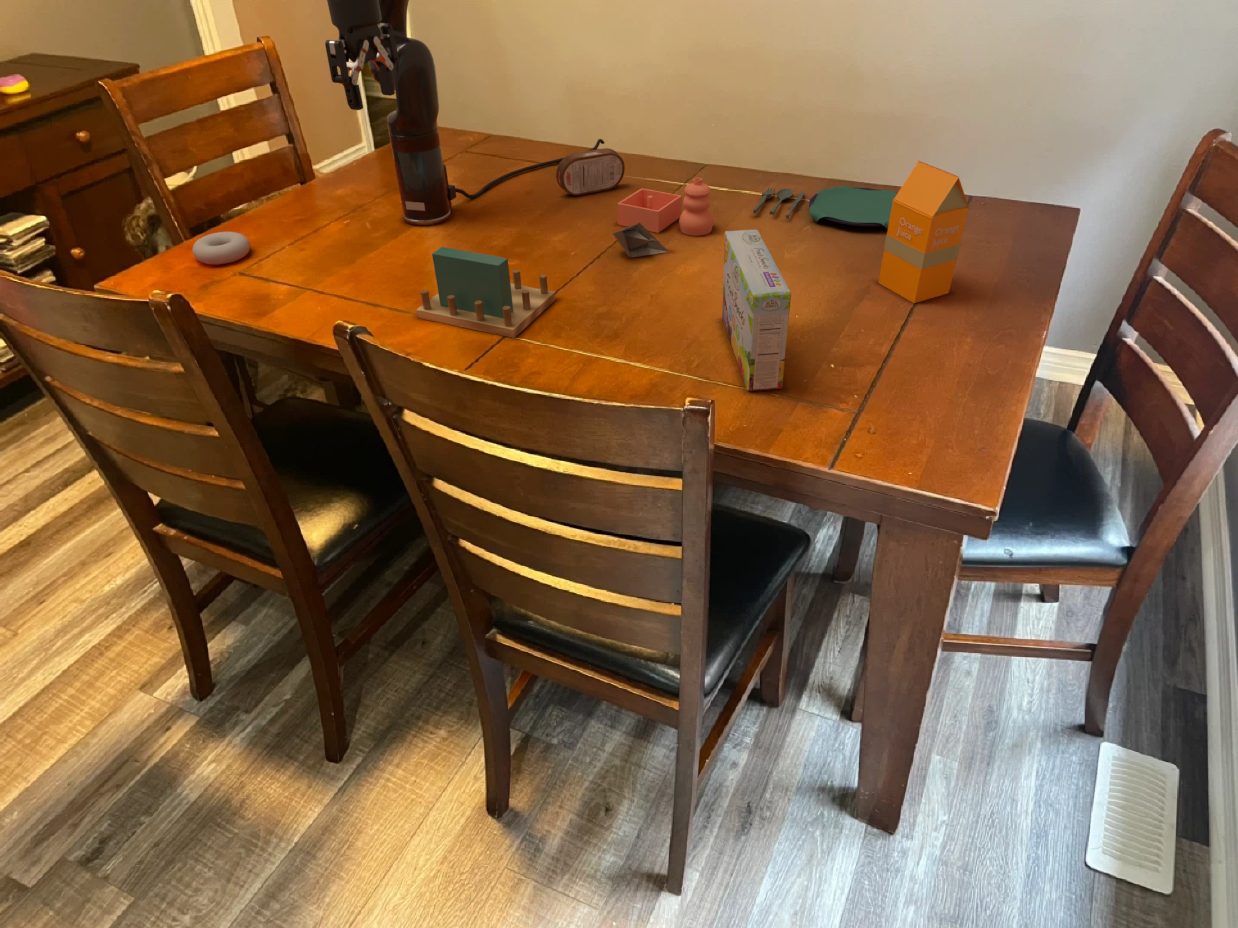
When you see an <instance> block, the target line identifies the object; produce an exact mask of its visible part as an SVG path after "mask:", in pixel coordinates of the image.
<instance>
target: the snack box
mask: <svg viewBox="0 0 1238 928" xmlns="http://www.w3.org/2000/svg"><path fill="white" fill-rule="evenodd" d="M760 233H761V232H760V231H759V230H758V229H756V228H755V229H741V230H740V229H739V230H725V232H724V244H723V245H724V246H723V247H724V248H723V275H722V276H723V278H722V279H723V280H722V282H723V284H722V314H721V318H722V319H721V321H722V323H723V326H724V329H725V332H726V335H727V338H728V340H729V343H730V345H731V348H732V351H733V354H734V357H735V360H736V363H737V365H738V366H737V367H738V368H739V372H740V374H741V377H742V379H743V383H744V385H745V388H746V391H747V392H755V391H756V392H757V391H769V390H778V389H779V390H781V389H783V384H784V383H783V382H784V374H785V373H784V371H785V362H786V361H785V360H786V352H787V340H788V329H789V321H790V320H789V319H790V311H791V302H792V301H791V300H792V291H791V290H790V288H789V286H788V284H787V282H786V281H785V279H784V276H783V275H782V273H781V271H780V270H779V268H778V266H777V264H776V262H775V260H774V258H773V256H772V254H771V253H770V250H769V249H768V247H767V244H766V243H765V241H764V239H763V237H762V235H761V234H760Z"/></svg>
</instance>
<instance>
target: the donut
mask: <svg viewBox="0 0 1238 928" xmlns="http://www.w3.org/2000/svg"><path fill="white" fill-rule="evenodd" d="M250 248H251V242H250V241H249V239H248V238H247V237H246V236H245V235H244V234H242V233H239V232H235V231H218V232H213V233H210V234H206V235H204V236H202V237H200V238H198V239H197V240H196V241H195V242H194V244H193V245H192V249H191V252H192V254H193V256H194V258H195V259H196V260H197V261H198V262H201V263H202V264H204V265H213V266H214V265H217V266H219V265H226V264H230V263H233V262H236V261H239V260H241V259H242V258H244V257H246V255H248V253H249V252H250V250H251V249H250Z"/></svg>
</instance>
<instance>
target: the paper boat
mask: <svg viewBox="0 0 1238 928" xmlns="http://www.w3.org/2000/svg"><path fill="white" fill-rule="evenodd" d="M612 235H613V236H614V238H615V240H616V241H617V242H618V243H619V245H620V246H621V248H622V249H623V251H624V252H625V254H626V255H627V256H628V257H629V258H639V257H645V256H651V255H658V254H665V253H670V251H669V250H668V249H667V248H666V247H665V246H664V245H663V244H662V242H660V241H659V240H658V239H657V238H656V237H655V236H654V235H653V234H652V232H651V231H648V230H647V229H646V228H645V227H644V226H643V225H642V224H641V223H637V224H635V225H632V226H630V227H628V226H627V227H625V228H622V229H620V230H618V231H615V232H612Z"/></svg>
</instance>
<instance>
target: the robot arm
mask: <svg viewBox="0 0 1238 928" xmlns="http://www.w3.org/2000/svg"><path fill="white" fill-rule="evenodd" d="M326 2H327V7H328V12H329V17H330V20H331V24H332V25H333V26H334V27H336V29H337V30H338V39H326V40H325V42H324V45H325V50H326V57H327V62H328V67H329V73H330V79H331V82H332V83H334V84H339V85H342V86H343V89H344V94H345V97H346V102H347V105H348V107H349V109H350V110H352V111H361V110H363V109H364V103H363V98H362V93H361V89H360V88H361V87H360V84H358V81H359V76H360V73H361V72H362V71H363V69H364V66H365V65H366V64H368V67H369V69H368V70H369V72H370V74H371V77H372V78H373V80H374V81H375V83H376V84H377V85H379V86H380V93H381V94H382V95H384V96H394V95H395V100H396V109H395V110H393V111H391V112H389V113H388V114H387V116H386V125H387V131H388V137H389V142H390V147H391V153H392V157H393V163H394V169H395V174H396V180H397V187H398V191H399V197H400V202H401V207H402V216H403V221H404V222H406V223H407V224H409V225H413V226H432V225H438V224H440V223H443V222H445V221H447V220H449V219H450V218H451V216H452V213H451V212H453V207H452V206H453V205H452V201H453V200H455V199H456V198H457V193H458V194H461V195H463V196H464V197H465V198H467V199H476V198H478V197H480V196H482V194H484V193H485V192H486V191H487V190H488V189H490V188H491V187H493V186H494V185H496V184H498V183H500V182H502V181H504V180H506V179H508V178H510V177H513V176H516V175H518V174H521V173H524V172H527V171H531V170H535V169H539V168H542V167H546V166H550V165H554V164H559V163H560V162H561V161H562V159H563V158H565V157H566V156H564V157H561V158H555V159H552V160H547V161H544V162H543V161H542V162H540V163H536V164H532V165H529V166H525V167H522V168H519V169H516V170H513V171H510V172H508V173H506V174H504V175H502V176H499V177H497V178H496V179H494V180H492V181H490V182H489V183H487V184H485V185H484V186H483V187H482V188H481V189H479V191H478V192H476V193H474V194H469V193H467V191H465V190H464V189H461V188H458V187H456V185H453V184H449V179H448V178H449V177H448V170H447V165H446V164H444V160H443V153H442V146H441V139H440V133H439V127H438V116H439V111H440V99H439V92H438V91H439V90H438V89H439V88H438V80H437V70H436V64H435V60H434V57H433V54H432V51H431V50H430V48H429V47H428V46H427V44H426V43H425V42H423V41H422V40H419V39H416V38H413V37H408V8H409V3H410V0H326ZM338 68H339V70H338ZM339 72H340V74H339ZM349 74H350V75H349ZM600 144H602V145H604V144H605V141H604V139H602V138H598V139H597V141H596V143H595V145H594V146H593V147H592V148H590V149H588V150H587V151H591V150H597V149H599V146H600Z"/></svg>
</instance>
